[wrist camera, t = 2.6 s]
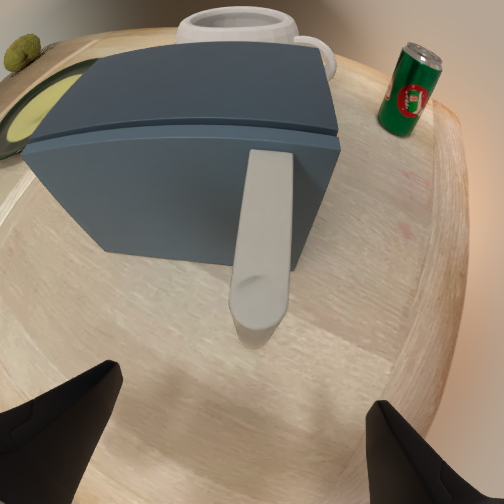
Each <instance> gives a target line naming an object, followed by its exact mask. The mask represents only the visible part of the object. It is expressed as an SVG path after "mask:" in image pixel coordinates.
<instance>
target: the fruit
mask: <svg viewBox="0 0 504 504" xmlns="http://www.w3.org/2000/svg"><path fill="white" fill-rule="evenodd" d="M40 49H41V45H40V40H39V38H38V37H37V36H36V35H33V34H27V35H24V36H22V37H20V38H19V39H17V40H16V41H15V42H13V44H12V45H11V46H10V47H9V48H8V49H7V51H6V53H5V56H4V66H5V69H7V70H8V71H11V72H15V71H16V72H17V71H20V70H21V69H23V68H24V67H25V66H26V65H27V64H29V63H30V62H31V61H33V60H34V59H35V58H36V57H37V56H38V54H39V53H40V52H39V51H40Z"/></svg>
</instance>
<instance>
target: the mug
mask: <svg viewBox="0 0 504 504" xmlns="http://www.w3.org/2000/svg"><path fill="white" fill-rule="evenodd" d="M214 41H250V42H269V43H281V44H291V45H299V46H310V47H313V48H318V49H319V51H320V53H321V54H322V55H323V57H324V59H325V62H326V66H325V73H326V76H327V80H328V82H329V81H330V80H331V79H332V78H333V77H334V75H335V73H336V70H337V61H336V58H335V55H334V54H333V52H332V51H331V49H330V48H329V47H328V46H327V45H326V44H324V43H323V42H322V41H320V40H318V39H316V38H313V37H309V36H299V33H298V29H297V26H296V24H295V22H294V20H293V18H292V17H290V16H289V15H287V14H285V13H282V12H279V11H276V10H272V9H267V8H260V7H245V6H242V7H241V6H239V7H223V8H216V9H211V10H206V11H202V12H199V13H196V14H193V15H191V16H189V17H188V18H186V19H184V20H183V21H182V22H181V23H180V26H179V27H178V29H177V34H176V42H175V44H183V43H195V42H214Z"/></svg>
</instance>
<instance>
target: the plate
mask: <svg viewBox="0 0 504 504" xmlns="http://www.w3.org/2000/svg"><path fill="white" fill-rule="evenodd" d="M98 59H100V58H95V59H89V60H86V61H82V62H79V63H76V64H74V65H71V66H69V67H67V68H65V69H63V70H61V71H59V72H57V73H55V74H54V75H52V76H50V77H49V78H47V79H46V80H44V81H43V82H41V83H40V84H38V85H37V86H36V87H34V88H33V89H32V90H30V91H29V92H28V93H27V94H26V95H25V96H24V97H23V98H21V99H20V100H19V101H18V102H17V103H16V104H15V105H14V106H13V108H12V109H11V110H10V111H9V112H8V113H7V114H6V116H5V117H4V118H3V120H2V121H1V122H0V160H3V159H6V158H8V157H10V156H12V155H14V154H16V153H18V152H19V151H21V150H23V149H24V148H25V147H26V145H27V144H31V142H30V141H29V137H30V136H31V134H32V133H33V132H34V130H35V129H36V128H37V126H38V125H39V124H40V122H41V121H42V120H43V118H44V117H45V116H46V115H47V113H48V112H49V111H50V110H51V108H52V107H53V106H54V105H55V104H56V102H57V101H58V100H59V99H60V98H61V97H62V96H63V94H64V93H65V92H66V91H67V90H68V89H69V88H70V87H71V86H72V85H73V84H74V83H75V81H76V80H77V79H78V78H79V77H80V76H81V75H82V74H83V73H84V72H85V71H86V70H87V69H89V68H90V67H91V66H92V65H93V64H94V63H95V62H96V61H97V60H98Z"/></svg>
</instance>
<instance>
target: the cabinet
mask: <svg viewBox="0 0 504 504" xmlns="http://www.w3.org/2000/svg"><path fill="white" fill-rule="evenodd" d="M160 125H234V126H252V127H265V128H276V129H286V130H295V131H303V132H310V133H317V134H324V135H330V136H337V133H338V125H337V120H336V115H335V110H334V106H333V101H332V97H331V92H330V88H329V84H328V80H327V76H326V73H325V69H324V65H323V61H322V58H321V54H320V51H319V49H318V48H313V47H306V46H299V45H291V44H281V43H269V42H250V41H214V42H195V43H183V44H173V45H165V46H158V47H151V48H145V49H140V50H134V51H129V52H124V53H120V54H116V55H111V56H107V57H103V58H100V59H98V60H97V61H96V62H95V63H94V64H93V65H92V66H91V67H90V68H89V69H87V70H86V71H85V72H84V73H83V74H82V75H81V76H80V77H79V78H78V79H77V80H76V81H75V83H74V84H73V85H72V86H71V87H70V88H69V89H68V90H67V91H66V92H65V93H64V94H63V96H62V97H61V98H60V99H59V100H58V101H57V102H56V104H55V105H54V106H53V107H52V108H51V110H50V111H49V112H48V113H47V115H46V116H45V117H44V118H43V120H42V121H41V122H40V124H39V125H38V126H37V128H36V129H35V130H34V132H33V133H32V134H31V136H30V137H29V141H30V142H31V143H35V142H39V141H44V140H48V139H53V138H58V137H63V136H69V135H75V134H81V133H87V132H94V131H102V130H110V129H119V128H130V127H143V126H160Z"/></svg>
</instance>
